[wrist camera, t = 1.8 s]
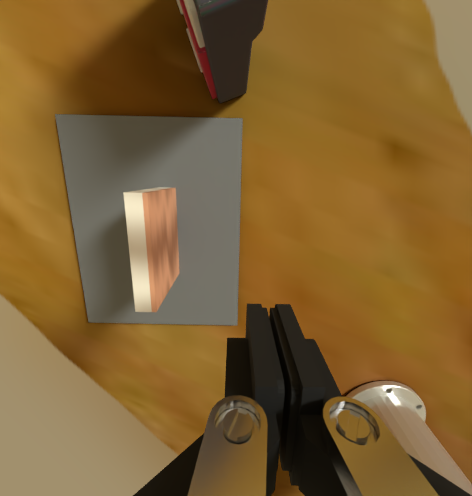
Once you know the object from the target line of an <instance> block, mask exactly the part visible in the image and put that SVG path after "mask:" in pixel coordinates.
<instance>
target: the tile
mask: <svg viewBox="0 0 472 496" xmlns="http://www.w3.org/2000/svg"><path fill="white" fill-rule="evenodd" d="M123 194H124V204H125V214H126V224H127V234H128V244H129V254H130V263H131V273H132V283H133V293H134V303H135V312H157V310H158V309H159V307H160V305H161V304H162V302H163V300H164V299H165V297H166V295H167V294H168V292H169V290H170V288H171V287H172V285H173V283H174V282H175V280H176V278H177V277H178V275H179V251H178V228H177V206H176V188H166V187H158V188H151V189H144V190H137V191H130V192H123Z"/></svg>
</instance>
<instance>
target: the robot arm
mask: <svg viewBox="0 0 472 496" xmlns="http://www.w3.org/2000/svg"><path fill="white" fill-rule="evenodd" d="M425 418H426V409H425V406H424V403H423V402H422V400H421V399H420V397H419V396H418V395H417V394H416V393H415V392H414V391H413V390H412V389H411V388H409V387H408V386H406V385H404V384H401V383H398V382H393V381H376V382H371V383H367V384H365V385H362V386H360V387H358V388H356V389H354V390H353V391H351V392H350V393H349V394H348V395H347V396H345V397H342V395H341V393H340V391H339V389H338V387H337V385H336V383H335V381H334V379H333V377H332V374H331V372H330V370H329V368H328V366H327V364H326V362H325V360H324V358H323V356H322V354H321V352H320V350H319V347H318V345H317V343H316V342H315V340H314V339H305V338H304V336H303V333H302V331H301V329H300V326H299V324H298V322H297V319H296V317H295V314H294V312H293V310H292V307H291V305H290V304H276V305H275V308H270V316H268V312H267V308H262V306H261V304H247V316H246V338H227V358H226V381H225V398H224V399H222V400H220V401H219V402H217V404H216V405H215V406H214V407H213V408H212V410H211V412H210V415H209V418H208V421H207V425H206V429H205V433H204V434H203V435H202V436H200V437H199V438H198V439H197V440H196V441H195V442H194V443H192V444H191V445H190V446H189V447H188V448H187V449H186V450H185V451H183V452H182V453H181V454H180V455H179V456H178V457H177V458H176V459H174V460H173V461H172V462H171V463H170V464H169V465H168V466H166V467H165V468H164V469H163V470H162V471H161V472H160V473H158V474H157V475H156V476H155V477H154V478H153V479H152V480H151V481H149V482H148V483H147V484H146V485H145V486H144V487H143V488H141V489H140V490H139V491H138V492H137V493H136V494H135V495H133V496H271V494H272V493H273V492H274V490H275V483H276V472H277V469H278V459H279V454H280V461H281V467H282V470H283V471H289V476H290V482H291V485H298V486H299V490H300V491H301V492H302V493H303V494H304V495H305V496H472V484H471V483H470V481H469V480H468V479H467V477H466V476H465V475H464V473H463V472H462V471H461V470H460V468H459V467H458V466H457V464H456V463H455V462H454V460H453V459H452V458H451V456H450V455H449V454H448V452H447V451H446V450H445V449H444V447H443V446H442V445H441V443H440V442H439V441H438V439H437V438H436V437H435V435H434V434H433V433H432V432H431V430H430V429H429V428H428V426H427V425H426V424H425Z"/></svg>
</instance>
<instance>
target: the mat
mask: <svg viewBox="0 0 472 496" xmlns="http://www.w3.org/2000/svg"><path fill="white" fill-rule="evenodd" d="M55 117H56V123H57V129H58V136H59V142H60V148H61V154H62V161H63V167H64V173H65V179H66V185H67V192H68V198H69V204H70V210H71V216H72V223H73V229H74V235H75V241H76V248H77V254H78V260H79V266H80V272H81V279H82V285H83V291H84V297H85V304H86V310H87V316H88V322H91V323H142V324H193V325H237V316H238V276H239V237H240V197H241V157H242V118H201V117H157V116H112V115H67V114H55ZM158 187H166V188H176V206H177V228H178V251H179V275H178V277H177V278H176V280H175V282H174V283H173V285H172V287H171V288H170V290H169V292H168V294H167V295H166V297H165V299H164V300H163V302H162V304H161V305H160V307H159V309H158V310H157V312H135V303H134V293H133V283H132V273H131V263H130V254H129V244H128V234H127V224H126V214H125V204H124V194H123V192H130V191H137V190H144V189H151V188H158Z"/></svg>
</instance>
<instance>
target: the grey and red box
mask: <svg viewBox="0 0 472 496" xmlns="http://www.w3.org/2000/svg"><path fill="white" fill-rule="evenodd" d="M176 1H177V4H178V7H179V9H180V12H181V15H182V14H184V17H185V20H186V23H187V26H188V28H187V29H186V30H187V33H188V36H189V39H190V42H191V45H192V48H193V51H194V54H195V57H196V60H197V63H198V66H199V69H200V72H203V74H204V77H205V80H206V83H207V86H208V89H209V92H210V94H211V97H212V99H215V98H218V101H219V103H223V102H225V101H228V100H230V99H233V98H235V97H238V96H240V95H243V94H245V93H246V90H247V82H248V73H249V65H250V56H251V47H252V41H253V40H254V39H255V38H256V37H257V35H258V34H259V33H260V32H261V31H262V29H263V25H264V20H265V14H266V9H267V3H268V0H176Z"/></svg>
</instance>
